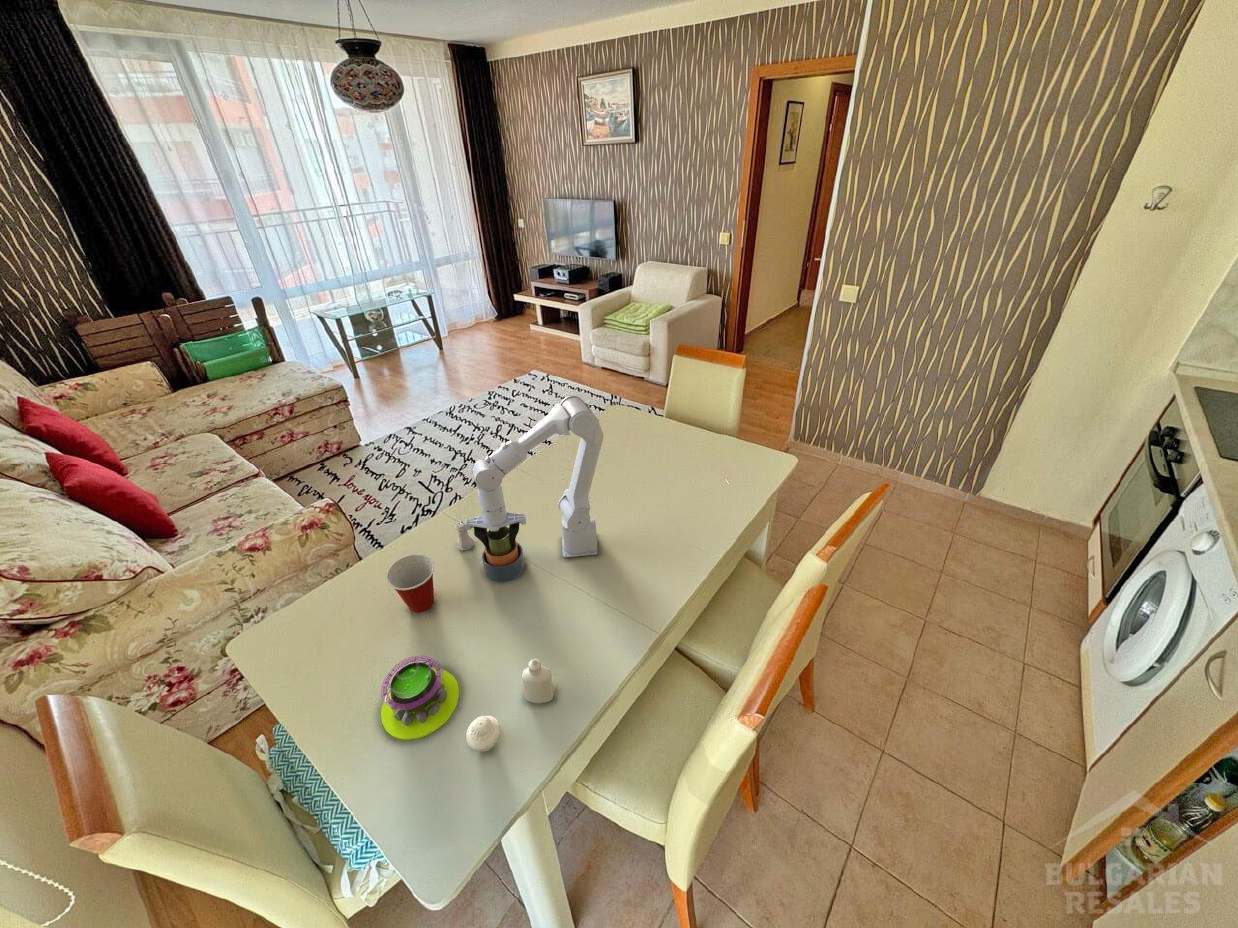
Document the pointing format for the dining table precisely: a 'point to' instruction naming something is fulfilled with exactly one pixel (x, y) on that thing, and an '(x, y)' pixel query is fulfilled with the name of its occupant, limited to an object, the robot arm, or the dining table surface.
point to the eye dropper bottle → (537, 683)
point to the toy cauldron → (418, 699)
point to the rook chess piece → (463, 537)
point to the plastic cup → (413, 581)
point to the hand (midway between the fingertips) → (500, 546)
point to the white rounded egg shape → (483, 733)
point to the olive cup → (499, 542)
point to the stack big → (505, 568)
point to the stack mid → (502, 557)
